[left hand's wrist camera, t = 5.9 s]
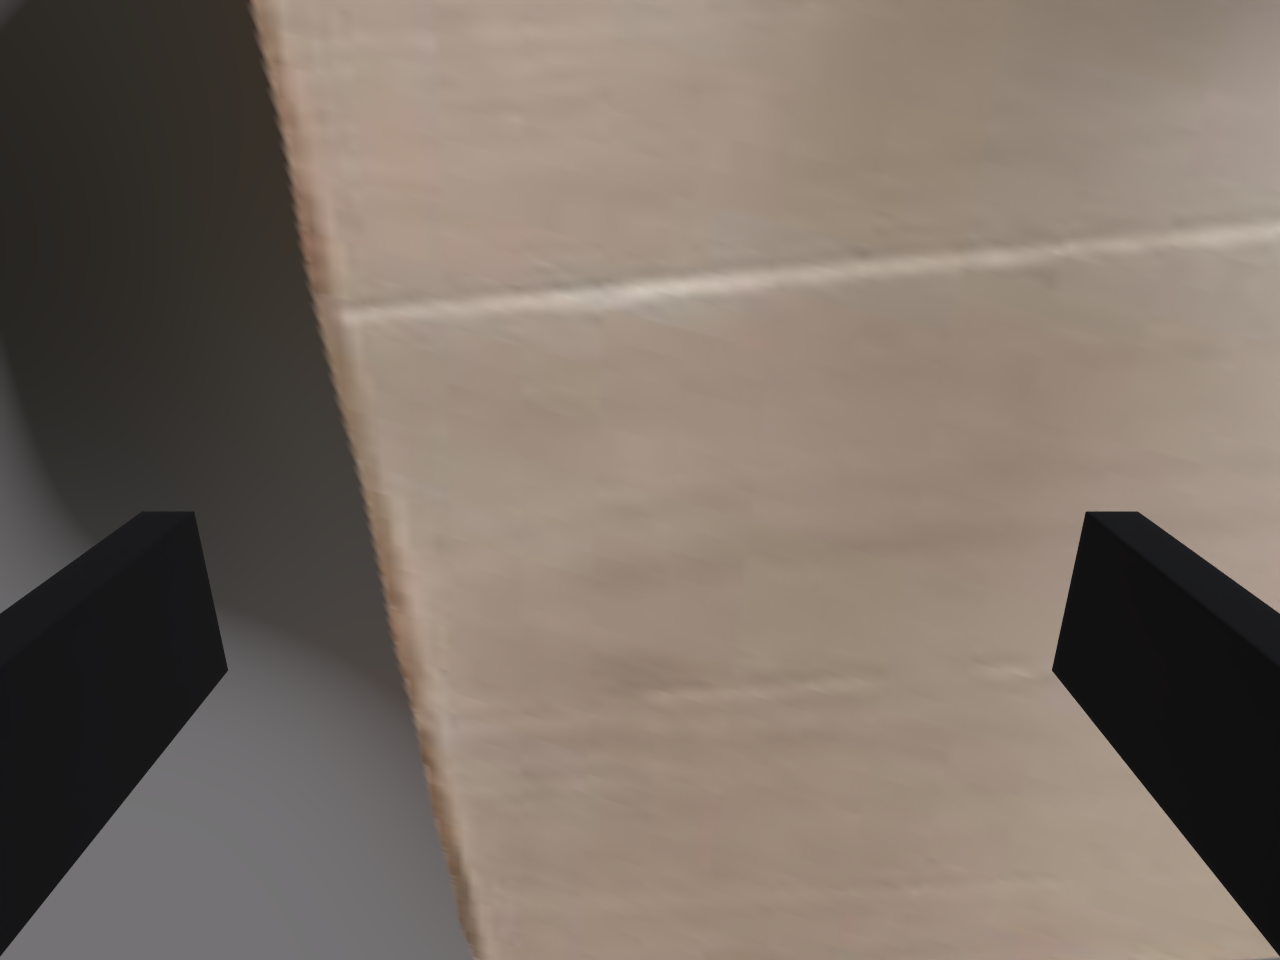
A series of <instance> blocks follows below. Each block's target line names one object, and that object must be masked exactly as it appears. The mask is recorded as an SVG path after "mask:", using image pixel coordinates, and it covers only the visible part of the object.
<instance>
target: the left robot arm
mask: <svg viewBox="0 0 1280 960" xmlns="http://www.w3.org/2000/svg"><path fill="white" fill-rule="evenodd" d="M227 671H228V668H227V663H226V658H225V654H224V649H223V645H222V640H221V635H220V630H219V626H218V621H217V616H216V612H215V607H214V603H213V598H212V593H211V588H210V584H209V579H208V574H207V570H206V565H205V560H204V556H203V551H202V546H201V542H200V537H199V532H198V527H197V523H196V518H195V513H194V512H141V513H140V514H138V515H137V516H135V517H134V518H133V519H131V520H130V521H128V522H127V523H126V524H124V525H123V526H121V527H120V528H119V529H117V530H116V531H115V532H113V533H112V534H110V535H109V536H108V537H106V538H105V539H104V540H102V541H101V542H99V543H98V544H97V545H95V546H94V547H92V548H91V549H90V550H88V551H87V552H85V553H84V554H83V555H81V556H80V557H78V558H77V559H76V560H74V561H73V562H71V563H70V564H69V565H67V566H66V567H65V568H63V569H62V570H60V571H59V572H58V573H56V574H55V575H53V576H52V577H51V578H49V579H48V580H46V581H45V582H44V583H42V584H41V585H40V586H38V587H37V588H35V589H34V590H33V591H31V592H30V593H28V594H27V595H26V596H24V597H23V598H21V599H20V600H19V601H17V602H16V603H15V604H13V605H12V606H10V607H9V608H8V609H6V610H5V611H3V612H2V613H1V614H0V956H1V955H2V953H3V952H4V951H5V950H6V948H7V947H8V946H9V945H10V943H11V942H12V941H13V940H14V938H15V937H16V936H17V935H18V933H19V932H20V931H21V930H22V928H23V927H24V926H25V925H26V923H27V922H28V921H29V920H30V918H31V917H32V916H33V914H34V913H35V912H36V911H37V910H38V908H39V907H40V906H41V904H42V903H43V902H44V901H45V899H46V898H47V897H48V896H49V894H50V893H51V892H52V891H53V889H54V888H55V887H56V886H57V884H58V883H59V882H60V881H61V879H62V878H63V877H64V876H65V874H66V873H67V872H68V871H69V869H70V868H71V867H72V866H73V864H74V863H75V862H76V861H77V859H78V858H79V857H80V855H81V854H82V853H83V852H84V850H85V849H86V848H87V847H88V846H89V844H90V843H91V842H92V840H93V839H94V838H95V837H96V835H97V834H98V833H99V832H100V830H101V829H102V828H103V827H104V825H105V824H106V823H107V822H108V820H109V819H110V818H111V817H112V815H113V814H114V813H115V812H116V810H117V809H118V808H119V807H120V805H121V804H122V803H123V801H124V800H125V799H126V798H127V797H128V795H129V794H130V793H131V791H132V790H133V789H134V788H135V786H136V785H137V784H138V783H139V781H140V780H141V779H142V778H143V776H144V775H145V774H146V773H147V771H148V770H149V769H150V768H151V766H152V765H153V764H154V763H155V761H156V760H157V759H158V758H159V756H160V755H161V754H162V753H163V751H164V750H165V749H166V748H167V746H168V745H169V744H170V743H171V741H172V740H173V739H174V738H175V736H176V735H177V734H178V732H179V731H180V730H181V729H182V727H183V726H184V725H185V724H186V722H187V721H188V720H189V719H190V717H191V716H192V715H193V714H194V712H195V711H196V710H197V709H198V707H199V706H200V705H201V704H202V702H203V701H204V700H205V699H206V697H207V696H208V695H209V693H210V692H211V691H212V690H213V689H214V687H215V686H216V685H217V683H218V682H219V681H220V680H221V679H222V677H223V676H224V675H225V674H226V672H227ZM1052 671H1053V672H1054V674H1055V675H1056V676H1057V677H1058V679H1059V680H1060V681H1061V682H1062V684H1063V685H1064V686H1065V687H1066V689H1067V690H1068V691H1069V692H1070V694H1071V695H1072V696H1073V697H1074V699H1075V700H1076V701H1077V702H1078V704H1079V705H1080V706H1081V707H1082V709H1083V710H1084V711H1085V712H1086V714H1087V715H1088V716H1089V717H1090V719H1091V720H1092V721H1093V722H1094V724H1095V725H1096V726H1097V727H1098V729H1099V730H1100V731H1101V733H1102V734H1103V735H1104V736H1105V738H1106V739H1107V740H1108V741H1109V743H1110V744H1111V745H1112V746H1113V748H1114V749H1115V750H1116V751H1117V753H1118V754H1119V755H1120V756H1121V758H1122V759H1123V760H1124V761H1125V763H1126V764H1127V765H1128V766H1129V768H1130V769H1131V770H1132V771H1133V773H1134V774H1135V775H1136V776H1137V778H1138V779H1139V780H1140V781H1141V783H1142V784H1143V785H1144V787H1145V788H1146V789H1147V790H1148V792H1149V793H1150V794H1151V795H1152V797H1153V798H1154V799H1155V800H1156V802H1157V803H1158V804H1159V805H1160V807H1161V808H1162V809H1163V810H1164V812H1165V813H1166V814H1167V815H1168V817H1169V818H1170V819H1171V820H1172V822H1173V823H1174V824H1175V825H1176V827H1177V828H1178V829H1179V830H1180V832H1181V833H1182V834H1183V835H1184V837H1185V838H1186V839H1187V840H1188V842H1189V843H1190V844H1191V846H1192V847H1193V848H1194V849H1195V851H1196V852H1197V853H1198V854H1199V856H1200V857H1201V858H1202V859H1203V861H1204V862H1205V863H1206V864H1207V866H1208V867H1209V868H1210V869H1211V871H1212V872H1213V873H1214V874H1215V876H1216V877H1217V878H1218V879H1219V881H1220V882H1221V883H1222V884H1223V886H1224V887H1225V888H1226V889H1227V891H1228V892H1229V893H1230V894H1231V896H1232V897H1233V898H1234V899H1235V901H1236V902H1237V903H1238V905H1239V906H1240V907H1241V908H1242V910H1243V911H1244V912H1245V913H1246V915H1247V916H1248V917H1249V918H1250V920H1251V921H1252V922H1253V923H1254V925H1255V926H1256V927H1257V928H1258V930H1259V931H1260V932H1261V933H1262V935H1263V936H1264V937H1265V938H1266V940H1267V941H1268V942H1269V943H1270V945H1271V946H1272V947H1273V948H1274V950H1275V951H1276V952H1277V953H1278V955H1279V956H1280V614H1279V613H1278V612H1277V611H1275V610H1274V609H1272V608H1271V607H1270V606H1268V605H1267V604H1265V603H1264V602H1263V601H1261V600H1260V599H1259V598H1257V597H1256V596H1254V595H1253V594H1252V593H1250V592H1249V591H1247V590H1246V589H1245V588H1243V587H1242V586H1240V585H1239V584H1238V583H1236V582H1235V581H1234V580H1232V579H1231V578H1229V577H1228V576H1227V575H1225V574H1224V573H1222V572H1221V571H1220V570H1218V569H1217V568H1215V567H1214V566H1213V565H1211V564H1210V563H1209V562H1207V561H1206V560H1204V559H1203V558H1202V557H1200V556H1199V555H1197V554H1196V553H1195V552H1193V551H1192V550H1190V549H1189V548H1188V547H1186V546H1185V545H1184V544H1182V543H1181V542H1179V541H1178V540H1177V539H1175V538H1174V537H1172V536H1171V535H1170V534H1168V533H1167V532H1165V531H1164V530H1163V529H1161V528H1160V527H1159V526H1157V525H1156V524H1154V523H1153V522H1152V521H1150V520H1149V519H1147V518H1146V517H1145V516H1143V515H1142V514H1140V513H1139V512H1086V513H1085V518H1084V523H1083V527H1082V532H1081V537H1080V542H1079V546H1078V551H1077V556H1076V560H1075V565H1074V570H1073V574H1072V579H1071V584H1070V588H1069V593H1068V598H1067V602H1066V607H1065V612H1064V616H1063V621H1062V626H1061V630H1060V635H1059V640H1058V644H1057V649H1056V654H1055V658H1054V663H1053V668H1052Z"/></svg>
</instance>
